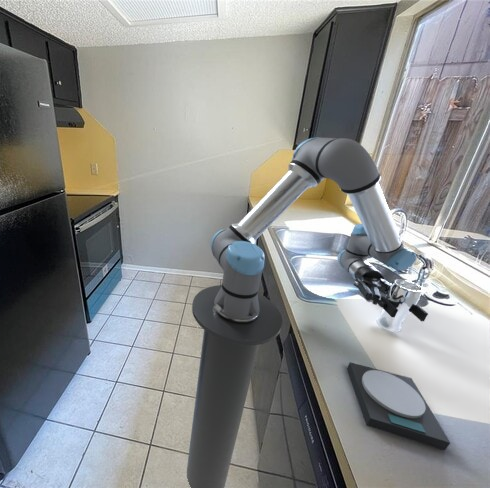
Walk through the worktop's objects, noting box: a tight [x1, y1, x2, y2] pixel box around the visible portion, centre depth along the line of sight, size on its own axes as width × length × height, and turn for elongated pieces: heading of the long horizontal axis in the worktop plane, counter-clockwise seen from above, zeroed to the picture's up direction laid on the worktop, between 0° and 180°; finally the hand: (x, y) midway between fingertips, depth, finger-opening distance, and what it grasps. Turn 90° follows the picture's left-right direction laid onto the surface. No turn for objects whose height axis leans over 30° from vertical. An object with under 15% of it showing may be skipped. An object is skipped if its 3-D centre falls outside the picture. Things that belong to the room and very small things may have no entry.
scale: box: [346, 361, 451, 451], centre depth 58 cm, size 15×13×3 cm
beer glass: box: [375, 278, 424, 333], centre depth 78 cm, size 7×7×15 cm
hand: (409, 315), depth 73 cm, fingers closed on beer glass, 7 cm apart
